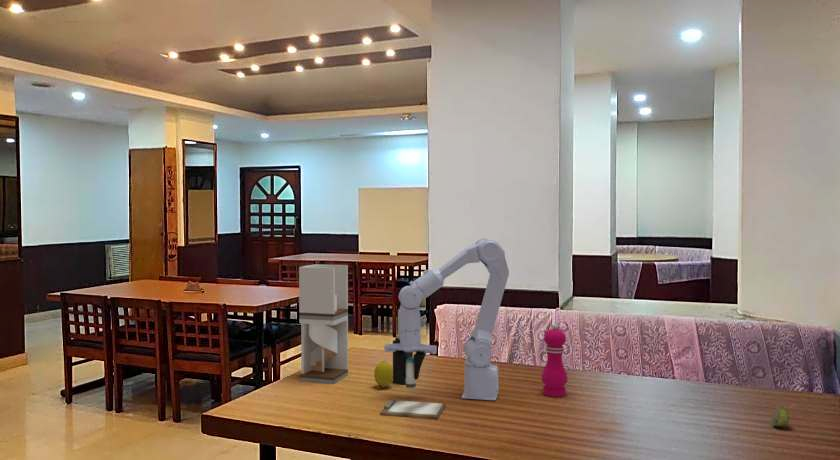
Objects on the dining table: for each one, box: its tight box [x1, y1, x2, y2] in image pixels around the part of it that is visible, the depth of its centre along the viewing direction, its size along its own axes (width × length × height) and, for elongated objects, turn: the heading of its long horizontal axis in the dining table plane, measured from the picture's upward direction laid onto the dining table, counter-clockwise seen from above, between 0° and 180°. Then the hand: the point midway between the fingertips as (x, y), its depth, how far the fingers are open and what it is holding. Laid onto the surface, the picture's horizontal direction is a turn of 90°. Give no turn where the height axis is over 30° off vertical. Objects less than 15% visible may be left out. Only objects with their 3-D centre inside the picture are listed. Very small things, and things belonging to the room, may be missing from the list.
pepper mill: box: [541, 323, 568, 398], centre depth 175 cm, size 7×7×20 cm
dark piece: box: [392, 302, 414, 386], centre depth 188 cm, size 5×5×25 cm
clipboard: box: [379, 399, 447, 420], centre depth 161 cm, size 15×11×1 cm
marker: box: [405, 356, 417, 389], centre depth 172 cm, size 3×3×8 cm
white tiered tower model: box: [298, 263, 349, 385], centre depth 192 cm, size 11×11×35 cm
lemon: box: [373, 360, 393, 389], centre depth 182 cm, size 6×6×8 cm
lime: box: [770, 405, 790, 428], centre depth 148 cm, size 4×5×5 cm
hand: (410, 378), depth 172 cm, fingers closed on marker, 3 cm apart
